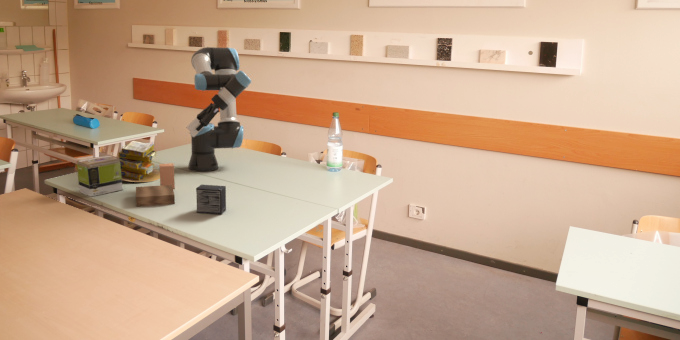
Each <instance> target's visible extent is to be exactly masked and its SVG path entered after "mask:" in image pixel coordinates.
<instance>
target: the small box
mask: <svg viewBox="0 0 680 340" xmlns="http://www.w3.org/2000/svg"><path fill="white" fill-rule="evenodd" d="M195 191H196V213H197V214H209V215H223V214H224V212H226V211H227V193H226V192H227V190H226V185H213V184H200V185H199V186H198V187H196V188H195Z"/></svg>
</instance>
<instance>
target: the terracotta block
mask: <svg viewBox="0 0 680 340" xmlns="http://www.w3.org/2000/svg"><path fill="white" fill-rule="evenodd" d="M159 171H160V179H159V183H160V185H159V186H162V185H172V187H173V190H175V189H176V186H175V184H176V182H175V166H174V163H170V162H169V163H159Z"/></svg>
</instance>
